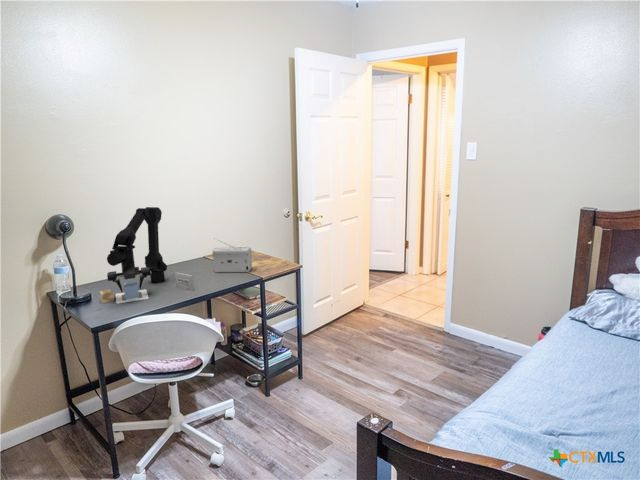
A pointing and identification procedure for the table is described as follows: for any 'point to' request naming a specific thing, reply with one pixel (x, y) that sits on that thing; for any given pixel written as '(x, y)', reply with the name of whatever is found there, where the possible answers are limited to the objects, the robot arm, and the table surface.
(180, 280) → the cassette
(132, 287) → the slate-blue cube
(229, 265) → the stereo radio cassette player
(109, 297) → the oak block
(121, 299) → the letter plate
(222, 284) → the table surface
